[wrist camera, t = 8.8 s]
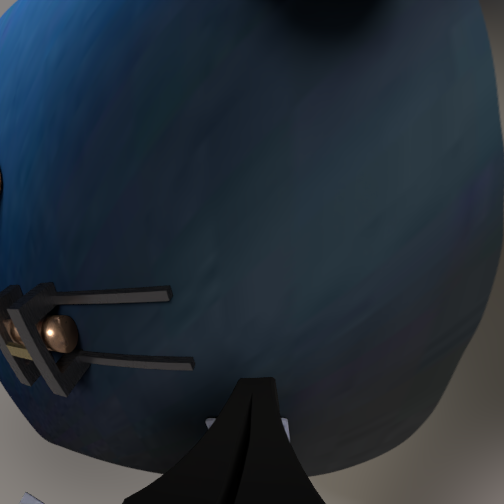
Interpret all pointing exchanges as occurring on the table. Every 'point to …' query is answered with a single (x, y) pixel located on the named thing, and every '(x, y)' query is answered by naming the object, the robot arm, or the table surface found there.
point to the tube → (51, 332)
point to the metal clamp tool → (78, 361)
